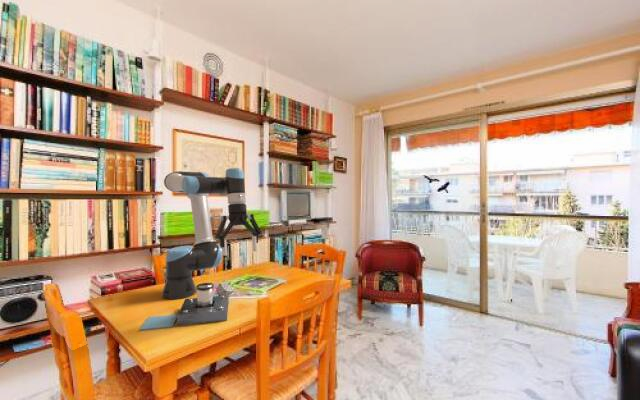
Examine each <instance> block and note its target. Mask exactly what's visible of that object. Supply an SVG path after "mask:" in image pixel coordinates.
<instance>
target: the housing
mask: <svg viewBox="0 0 640 400" xmlns="http://www.w3.org/2000/svg"><path fill="white" fill-rule="evenodd" d="M229 302H230V301H229V296H228V295H224V296H219V295H215V296H213V307H205V308H197V297H195V298H194V297H193V298H185V299H184V301H183V303H182V306H181V307H180V309H179V311H178V313H177V314H178V315H177V319H176V323H177V324H176V326H177V327H178V326H179V327H180V326H189V325H199V324H207V323H216V322H217V323H218V322H224V321H225V322H227V320H228V314H229Z"/></svg>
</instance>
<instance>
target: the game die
mask: <svg viewBox="0 0 640 400" xmlns="http://www.w3.org/2000/svg"><path fill="white" fill-rule="evenodd" d="M231 284H232V283H231V281H230V282H227V281H225V280H223V282H221V283H218V286H216V287H215V286H214V287H215V289H216V294H215V296H224V295H228V297H230V296H231V294H232V293H233V294H234V293H235V291H233V286H234V285H231ZM229 295H230V296H229Z"/></svg>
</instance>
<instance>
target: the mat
mask: <svg viewBox="0 0 640 400" xmlns="http://www.w3.org/2000/svg"><path fill="white" fill-rule="evenodd" d="M177 315H178V313H175V314H166V315H156V316H148V317H147V319H146V320H145V321H144V323H143V324H142V325H141V327H139V331H150V330H157V329H158V330H159V329H160V330H161V329H168V328H173V327H174V325H175V324H176V322H177Z"/></svg>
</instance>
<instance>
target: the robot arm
mask: <svg viewBox="0 0 640 400" xmlns="http://www.w3.org/2000/svg"><path fill="white" fill-rule="evenodd" d="M163 185H164V187H165V188H166V189H167V190H168V191H170V192H173V193H180V194H182V193H184V194H186V197H187V198H188V199H189V200H190V206H191V214H192V221H193V227H194V228H193V230H194V237H195V242H194V244H192V246H193V247H192V246H191V245H181V246H175V247H172V248H170V249H168V250H167V251H166V253H165V254H166V255H165V283H164V285H163V289H162V292H161V296H162V299H165V300H179V299H180V300H181V299H184V298H185V299H187V298H189V297H192V296H194V295H196V294H197V289H196V284H195V282H194V279H193V272H195V271H201V270H208V269H213V268H217V267H218V266H220V265H221V263H222V259H223V256H228V244H227V238H226V237H227V235H228V234H229V233H230V231H231V230H232V228H234V227H235V226H244V227H245V228H246V230H248V231H249V232H250V233H251V234H252V236H251V243H252V244H251V245H252V252H257V251H258V243H259V235H262V230H261V229H260V227H259V225H258V223H257V221H256V220H255V216H254V214H253V213H251V214H247V204H246V201H247V199H246V185H245V174H244V170H243V169H242V168H240V167H238V168H237V167H230V168H227V169H226V170H225V176H224V177H221V176H220V177H218V176H210V175H209V174H208V173H206V172H201V171H181V170H180V171H172V172H169V173H168V174H167V175H166V176H165V178H164V179H163ZM209 195H219V196H225V195H226V196H227V204H228V206H227V211H228V215H222V216H221V219H220V220H221V221H220V223H219V226H218V228H217V231H216V233H215V235H214V237H213V230H212V229H213V228H212V221H211V217H210V216H211V215H210V208H209V202H208V197H209ZM247 219H248V220H247ZM228 220H229V223H228V224H227V226H226V222H227V221H228ZM249 222H250V223H249ZM225 226H226V228H225ZM224 228H225V229H224ZM225 238H226V239H225ZM216 239H217V240H219V244H218V243H217V240H216Z"/></svg>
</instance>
